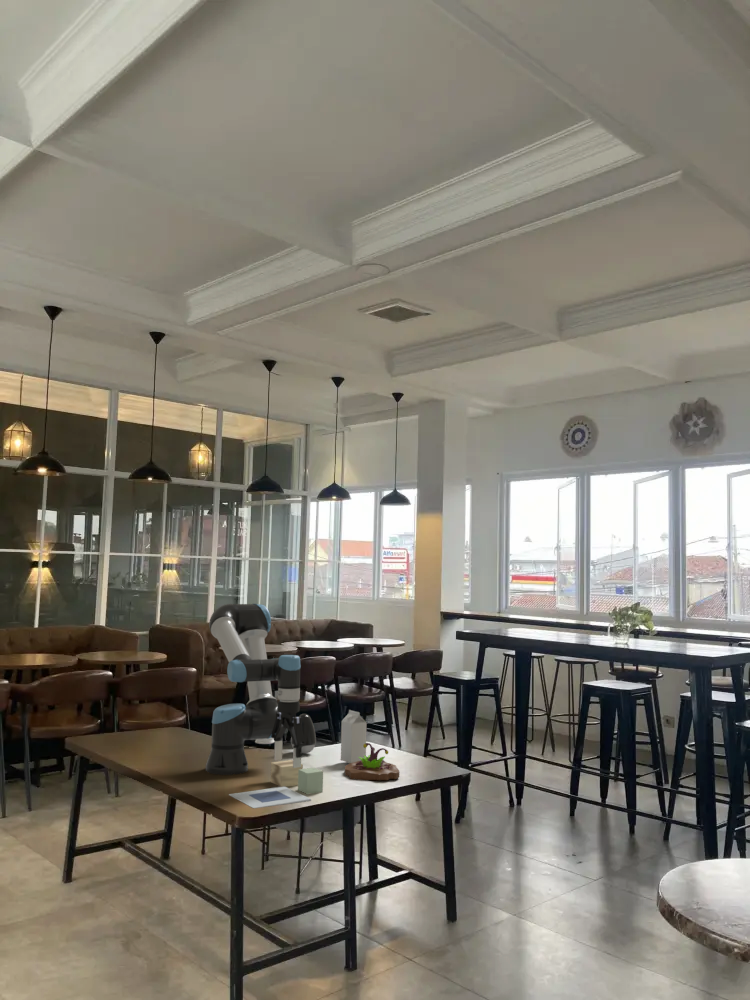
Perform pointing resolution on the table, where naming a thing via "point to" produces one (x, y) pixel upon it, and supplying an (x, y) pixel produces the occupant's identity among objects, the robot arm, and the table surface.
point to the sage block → (310, 780)
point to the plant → (372, 767)
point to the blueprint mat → (270, 797)
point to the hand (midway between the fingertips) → (287, 763)
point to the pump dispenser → (307, 734)
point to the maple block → (284, 773)
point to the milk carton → (353, 737)
